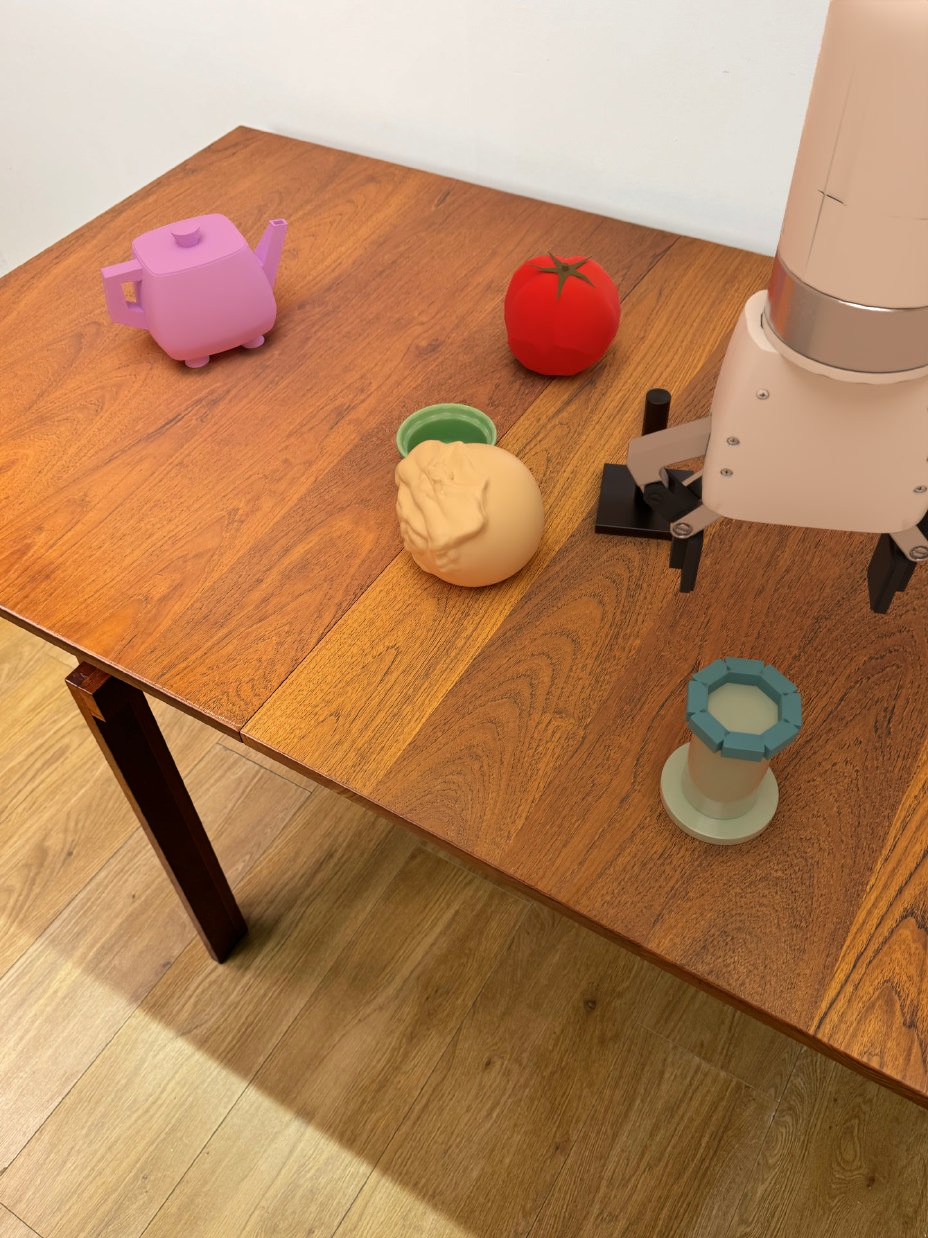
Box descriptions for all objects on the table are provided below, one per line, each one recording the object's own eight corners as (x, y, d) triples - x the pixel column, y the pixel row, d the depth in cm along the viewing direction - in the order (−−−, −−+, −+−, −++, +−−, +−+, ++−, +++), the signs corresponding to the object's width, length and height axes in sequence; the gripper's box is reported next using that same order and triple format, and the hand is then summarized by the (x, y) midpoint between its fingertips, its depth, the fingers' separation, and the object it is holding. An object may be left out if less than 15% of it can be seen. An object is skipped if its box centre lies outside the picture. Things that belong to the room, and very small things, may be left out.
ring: (796, 676, 63) (800, 664, 63) (799, 767, 59) (803, 757, 58) (688, 663, 65) (690, 652, 64) (683, 752, 60) (685, 741, 59)
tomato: (479, 358, 103) (474, 259, 94) (558, 312, 107) (561, 214, 98) (560, 411, 97) (563, 311, 88) (641, 361, 101) (652, 260, 92)
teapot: (145, 397, 101) (104, 285, 91) (111, 335, 108) (70, 226, 98) (325, 333, 107) (305, 222, 97) (281, 279, 114) (258, 170, 104)
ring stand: (775, 752, 72) (805, 669, 64) (776, 854, 67) (809, 777, 59) (662, 737, 73) (679, 655, 65) (655, 836, 68) (672, 759, 60)
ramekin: (398, 444, 95) (393, 407, 91) (492, 435, 95) (491, 398, 91) (403, 510, 89) (398, 473, 86) (503, 500, 89) (502, 463, 86)
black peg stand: (692, 478, 90) (711, 368, 81) (688, 542, 85) (708, 432, 76) (603, 470, 91) (612, 361, 82) (594, 533, 86) (603, 424, 77)
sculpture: (385, 530, 87) (370, 435, 79) (511, 492, 90) (510, 396, 81) (429, 624, 81) (418, 530, 72) (564, 580, 83) (569, 484, 75)
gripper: (1083, 257, 40) (944, 548, 53) (650, 234, 43) (620, 517, 56) (1125, 371, 36) (962, 659, 49) (637, 337, 38) (608, 619, 51)
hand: (779, 583), depth 52 cm, fingers open, 9 cm apart
